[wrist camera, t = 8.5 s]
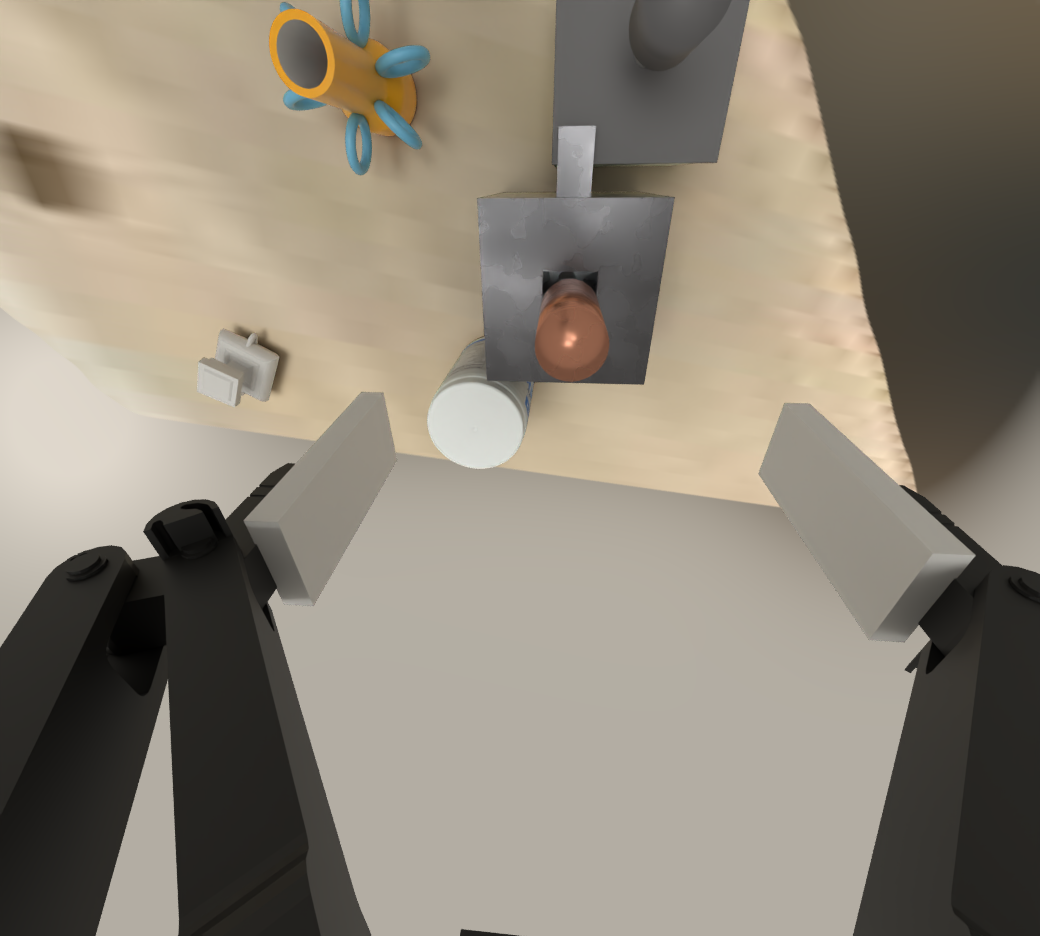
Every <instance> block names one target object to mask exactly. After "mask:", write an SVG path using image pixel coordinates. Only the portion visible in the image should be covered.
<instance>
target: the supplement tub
mask: <svg viewBox="0 0 1040 936" xmlns="http://www.w3.org/2000/svg"><path fill="white" fill-rule="evenodd" d="M533 385H534V382H520V381H487V375H486V356H485V337H482V338H479V339H477V340H475V341H473V342H472V343H470V344H469V345H468V346H467V347H466V348H465V349H464V350H463V352H462V353H461V355H460V356H459V358H458V359H457V361H456V363H455V364H454V366H453V367H452V369H451V370H450V372H449V373H448V375H447V376H446V378H445V380H444V381H443V383H442V384H441V386H440V387H439V389H438V391H437V392H436V394H435V395H434V397H433V399H432V402H431V405H430V408H429V411H428V416H427V425H428V431H429V434H430V437H431V439H432V441H433V443H434V444H435V446H436V447H437V448H438V450H439V451H440V452H441V453H442V454H443V455H444V456H446V457H447V458H448V459H450V460H451V461H453V462H455V463H457V464H459V465H462V466H465V467H469V468H476V469H484V468H491V467H495V466H498V465H500V464H502V463H504V462H506V461H507V460H509V459H510V458H511V457H512V456H513V455H514V454H515V453H516V451H517V450H518V448H519V447H520V444H521V442H522V439H523V437H524V435H525V432H526V427H527V422H528V416H529V410H530V404H531V398H532V392H533Z"/></svg>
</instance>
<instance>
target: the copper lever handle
mask: <svg viewBox="0 0 1040 936" xmlns="http://www.w3.org/2000/svg"><path fill="white" fill-rule="evenodd" d="M608 351H609V336H608V332H607V329H606V326H605V322H604V319H603V316H602V312H601V309H600V306H599V303H598V299H597V296H596V294H595V292H594V291H593V289H592V288H591V287H590V286H589V285H588V284H586V283H585V282H583V281H581V280H577V279H576V275H575V273H574V272H561V274H560V275H559V282H557V283H555V284H554V285H552V286H551V287H550V288H549V289H548V290H547V292H546V293H545V295H544V297H543V299H542V303H541V308H540V314H539V320H538V327H537V333H536V339H535V353H536V357H537V360H538V362H539V364H540V366H541V367H542V368H543V370H544V371H545V372H546V373H548V374H549V375H550V376H552V377H554V378H556V379H558V380H562V381H568V382H573V381H580V380H583V379H586V378H588V377H590V376H591V375H593V374H594V373H595V372H597V371H598V370H599V369H600V367H601V366H602V365H603V363H604V362H605V360H606V358H607V355H608Z"/></svg>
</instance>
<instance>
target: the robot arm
mask: <svg viewBox="0 0 1040 936" xmlns="http://www.w3.org/2000/svg"><path fill="white" fill-rule="evenodd" d="M396 461H397V458H396V453H395V448H394V443H393V438H392V433H391V428H390V423H389V418H388V413H387V408H386V403H385V398H384V393H381V392H361V393H360V394H359V395H358V396H357V397H356V399H355V400H354V401H353V402H352V403H351V404H350V405H349V406H348V407H347V408H346V409H345V411H344V412H343V413H342V414H341V415H340V416H339V417H338V418H337V419H336V420H335V421H334V423H333V424H332V425H331V426H330V427H329V428H328V429H327V430H326V431H325V432H324V433H323V435H322V436H321V437H320V438H319V439H318V440H317V441H316V442H315V443H314V444H313V445H312V446H311V448H310V449H309V450H308V451H307V452H306V453H305V454H304V455H303V457H301V459H300V460H299V461H298V462H297V463H296V464H292V463H288V464H286V465H284V466H282V467H280V468H279V469H277V470H276V471H274V472H272V473H270V475H269V476H268V477H267V478H266V479H265V480H264V481H263V482H262V483H261V484H260V485H259V486H260V487H257V488H256V489H255V490H254V491H253V492H252V493H251V494H250V497H247V498H246V499H245V500H244V501H243V502H242V503H241V504H240V505H239V507H237V509H236V510H234V512H233V513H232V514H231V515H230V516H229V517H228V518H227V519H226V520H225V518H224V516H223V515H222V513H221V511H220V509H219V507H218V506H217V504H216V503H215V502H213V501H210V500H206V499H205V500H192V501H187V502H182V503H179V504H177V505H174V506H172V507H169V508H167V509H165V510H163V511H162V512H160V513H159V514H157V515H155V516H154V517H153V518H152V519H151V520H150V521H149V522H148V523H147V524H146V527H145V529H144V531H143V532H144V533H145V535H146V536H147V538H148V539H149V541H150V542H151V544H152V545H153V547H154V548H155V550H156V551H157V553H158V554H159V556H157V557H151V558H146V559H140V560H134V561H132V560H131V558H130V557H129V555H128V554H127V553H126V551H125V550H123V548H122V547H117V546H112V545H111V546H103V547H97V548H94V549H91V550H87V551H83V552H81V553H78V555H74V556H72V557H70V558H69V559H67V560H66V561H65V562H63V563H62V564H60V565H59V566H57V567H56V568H55V569H54V570H53V571H52V572H51V573H50V574H49V575H48V577H47V578H46V579H45V581H44V582H43V584H42V585H41V587H40V588H39V590H38V591H37V593H36V594H35V596H34V597H33V599H32V600H31V602H30V603H29V605H28V606H27V608H26V610H25V611H24V612H23V614H22V615H21V617H20V619H19V620H18V622H17V623H16V625H15V626H14V628H13V629H12V631H11V632H10V634H9V635H8V637H7V638H6V640H5V641H4V643H3V644H2V646H1V647H0V936H95V935H96V932H97V928H98V925H99V921H100V918H101V914H102V910H103V907H104V903H105V900H106V896H107V892H108V889H109V886H110V882H111V878H112V875H113V872H114V868H115V864H116V861H117V857H118V854H119V850H120V847H121V843H122V839H123V836H124V833H125V829H126V825H127V822H128V818H129V815H130V811H131V807H132V804H133V801H134V797H135V793H136V790H137V786H138V783H139V779H140V776H141V772H142V769H143V765H144V762H145V758H146V754H147V751H148V747H149V743H150V740H151V736H152V733H153V730H154V726H155V723H156V719H157V715H158V712H159V708H160V705H161V701H162V698H163V694H164V691H165V687H166V684H167V680H168V685H169V686H168V687H169V708H170V730H171V753H172V775H173V797H174V816H175V817H174V819H175V841H176V863H177V884H178V907H179V935H178V936H371V933H370V931H369V928H368V926H367V923H366V921H365V919H364V916H363V914H362V912H361V910H360V907H359V904H358V901H357V898H356V895H355V892H354V889H353V885H352V882H351V879H350V875H349V872H348V869H347V865H346V862H345V858H344V855H343V851H342V848H341V845H340V841H339V838H338V834H337V831H336V828H335V824H334V821H333V817H332V814H331V810H330V807H329V804H328V800H327V797H326V793H325V790H324V787H323V783H322V780H321V776H320V773H319V769H318V766H317V763H316V759H315V756H314V753H313V749H312V746H311V742H310V739H309V735H308V732H307V729H306V725H305V722H304V718H303V715H302V712H301V708H300V705H299V701H298V698H297V694H296V691H295V688H294V684H293V681H292V678H291V674H290V671H289V667H288V664H287V660H286V657H285V654H284V650H283V647H282V644H281V640H280V637H279V633H278V630H277V626H276V623H275V619H274V616H273V613H272V610H271V608H270V606H269V604H268V600H269V599H270V597H271V596H272V594H273V593H274V591H275V590H276V589H277V591H278V593H279V595H280V597H281V599H282V601H283V603H284V604H287V605H303V606H314V605H315V603H316V601H317V599H318V598H319V596H320V594H321V592H322V591H323V589H324V587H325V585H326V584H327V581H328V580H329V578H330V577H331V575H332V573H333V571H334V570H335V568H336V566H337V564H338V563H339V561H340V559H341V557H342V556H343V554H344V552H345V550H346V549H347V547H348V545H349V543H350V542H351V540H352V538H353V537H354V535H355V533H356V531H357V530H358V528H359V526H360V524H361V522H362V521H363V519H364V517H365V516H366V514H367V512H368V510H369V509H370V507H371V505H372V503H373V502H374V500H375V498H376V496H377V495H378V493H379V491H380V489H381V488H382V486H383V484H384V482H385V481H386V479H387V477H388V475H389V474H390V472H391V470H392V468H393V467H394V465H395V463H396ZM758 474H759V475H760V477H761V478H762V480H763V482H764V483H765V485H766V486H767V488H768V489H769V491H770V492H771V494H772V495H773V497H774V498H775V500H776V501H777V503H778V504H779V506H780V507H781V509H782V510H783V511H784V513H785V515H786V516H787V518H788V519H789V521H790V522H791V524H792V525H793V527H794V528H795V530H796V531H797V533H798V534H799V536H800V537H801V539H802V540H803V542H804V543H805V545H806V546H807V548H808V549H809V551H810V552H811V554H812V555H813V557H814V558H815V560H816V561H817V563H818V564H819V566H820V567H821V569H822V570H823V572H824V573H825V575H826V576H827V578H828V579H829V581H830V582H831V584H832V585H833V587H834V588H835V590H836V591H837V592H838V594H839V596H840V597H841V599H842V600H843V602H844V603H845V605H846V606H847V608H848V609H849V611H850V612H851V614H852V615H853V617H854V618H855V620H856V621H857V623H858V624H859V626H860V627H861V629H862V630H863V632H864V633H865V635H866V636H867V638H868V639H869V640H877V641H893V642H905V641H906V640H907V639H908V637H909V636H910V635H911V634H912V632H913V631H914V630H915V629H916V628H917V626H918V625H920V627H921V628H922V629H923V630H924V632H925V633H926V634H927V635H928V637H929V638H930V641H929V642H928V643H927V644H926V645H925V646H924V648H923V649H922V650H921V651H920V652H919V653H918V654H917V655H916V657H915V658H914V659H913V660H912V661H911V663H909V665H908V666H907V667H906V668H905V670H906V671H908V672H909V673H911V672H912V671H913V670H914V669H915V668H917V672H916V676H915V680H914V684H913V689H912V693H911V697H910V701H909V705H908V709H907V713H906V718H905V722H904V726H903V730H902V734H901V738H900V742H899V746H898V751H897V755H896V759H895V763H894V767H893V771H892V776H891V780H890V784H889V788H888V792H887V796H886V800H885V805H884V809H883V813H882V817H881V821H880V825H879V830H878V834H877V838H876V842H875V846H874V850H873V854H872V859H871V863H870V867H869V871H868V875H867V879H866V884H865V888H864V892H863V896H862V900H861V904H860V909H859V913H858V917H857V921H856V925H855V929H854V933H853V936H1040V574H1038V573H1036V572H1033V571H1029V570H1026V569H1023V568H1019V567H1013V566H1004V565H1003V566H1002V565H1001V564H1000V563H999V562H998V561H997V560H995V559H994V558H993V557H992V556H991V555H990V554H989V553H987V552H986V551H985V550H984V549H983V548H982V547H981V546H980V545H978V544H977V543H976V542H975V541H974V540H973V539H972V538H970V537H969V536H968V535H967V534H966V533H965V532H964V531H962V530H961V529H960V528H959V527H957V526H954V523H953V522H952V521H951V520H950V519H949V518H948V517H947V516H946V515H942V514H941V511H940V510H939V509H938V508H936V507H935V506H934V505H933V504H932V503H931V502H929V501H928V500H927V499H926V498H925V497H923V496H921V495H919V494H918V493H916V492H914V491H912V490H911V489H909V488H907V487H905V486H904V485H898V484H897V483H896V482H895V481H894V480H893V479H892V478H890V477H889V476H888V475H887V474H886V473H885V472H884V471H883V470H882V469H881V468H880V467H878V466H877V465H876V464H875V463H874V462H873V461H872V460H871V459H870V458H869V457H867V456H866V455H865V454H864V453H863V452H862V451H861V450H860V449H859V448H858V447H857V446H855V445H854V444H853V443H852V442H851V441H850V440H849V439H848V438H847V437H846V436H845V435H843V434H842V433H841V432H840V431H839V430H838V429H837V428H836V427H835V426H834V425H832V424H831V423H830V422H829V421H828V420H827V419H826V418H825V417H824V416H823V415H822V414H820V413H819V412H818V411H817V410H816V409H815V408H814V407H813V406H812V405H811V404H806V403H784V406H783V408H782V411H781V414H780V417H779V419H778V422H777V425H776V427H775V430H774V433H773V436H772V438H771V441H770V444H769V446H768V449H767V452H766V454H765V457H764V460H763V463H762V465H761V468H760V471H759V473H758ZM460 936H517V935H508V934H499V933H490V932H481V931H472V930H463V929H462V930H461V933H460Z"/></svg>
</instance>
